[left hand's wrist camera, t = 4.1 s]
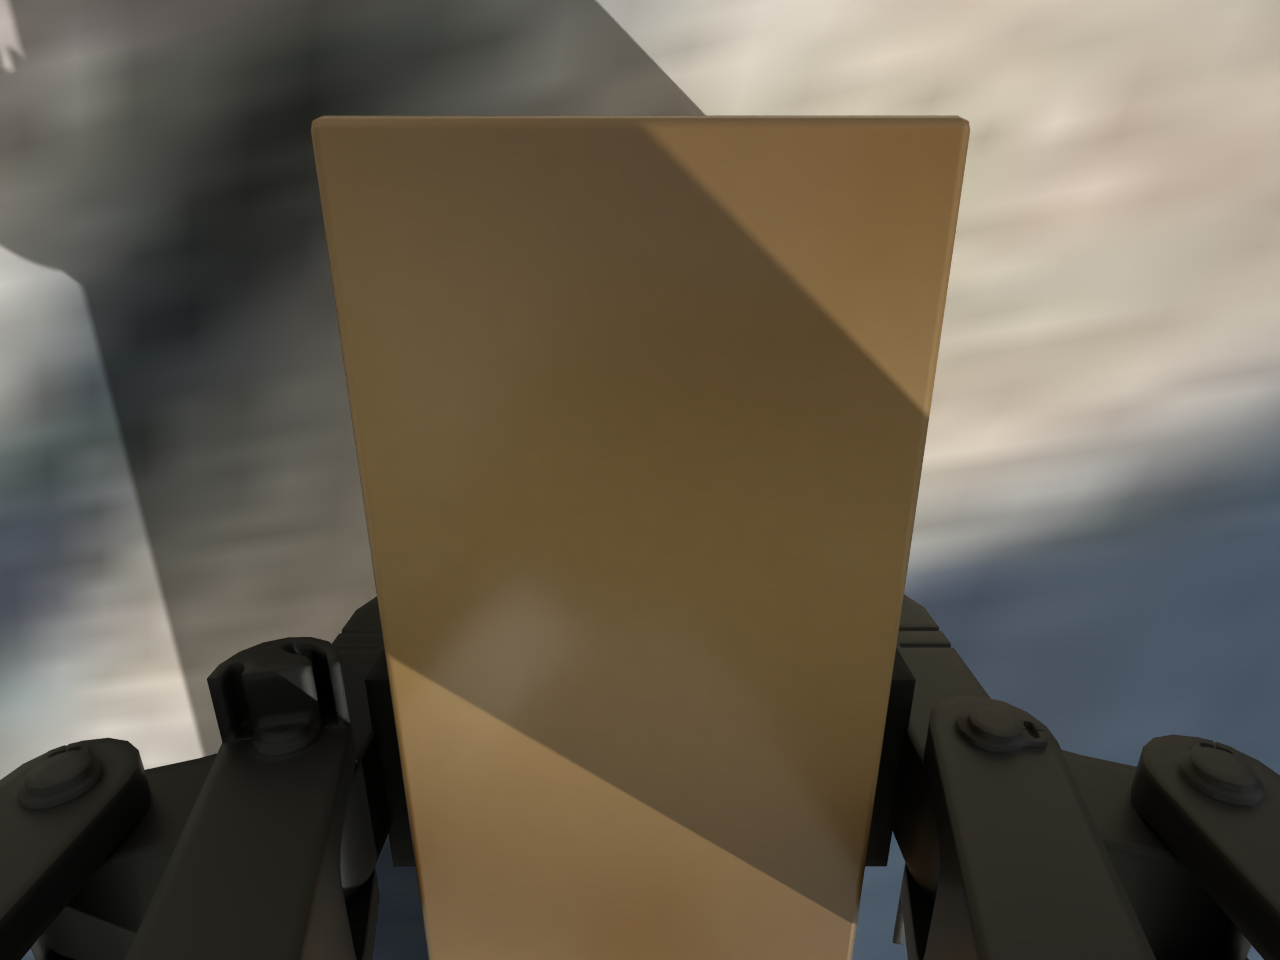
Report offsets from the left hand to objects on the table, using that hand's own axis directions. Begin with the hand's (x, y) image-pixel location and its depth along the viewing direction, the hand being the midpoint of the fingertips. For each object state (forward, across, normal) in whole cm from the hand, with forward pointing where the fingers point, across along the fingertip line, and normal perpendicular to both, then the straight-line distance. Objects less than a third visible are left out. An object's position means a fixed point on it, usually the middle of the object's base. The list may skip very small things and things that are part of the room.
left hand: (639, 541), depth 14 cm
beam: (+1, 0, -27) cm, 27 cm away
